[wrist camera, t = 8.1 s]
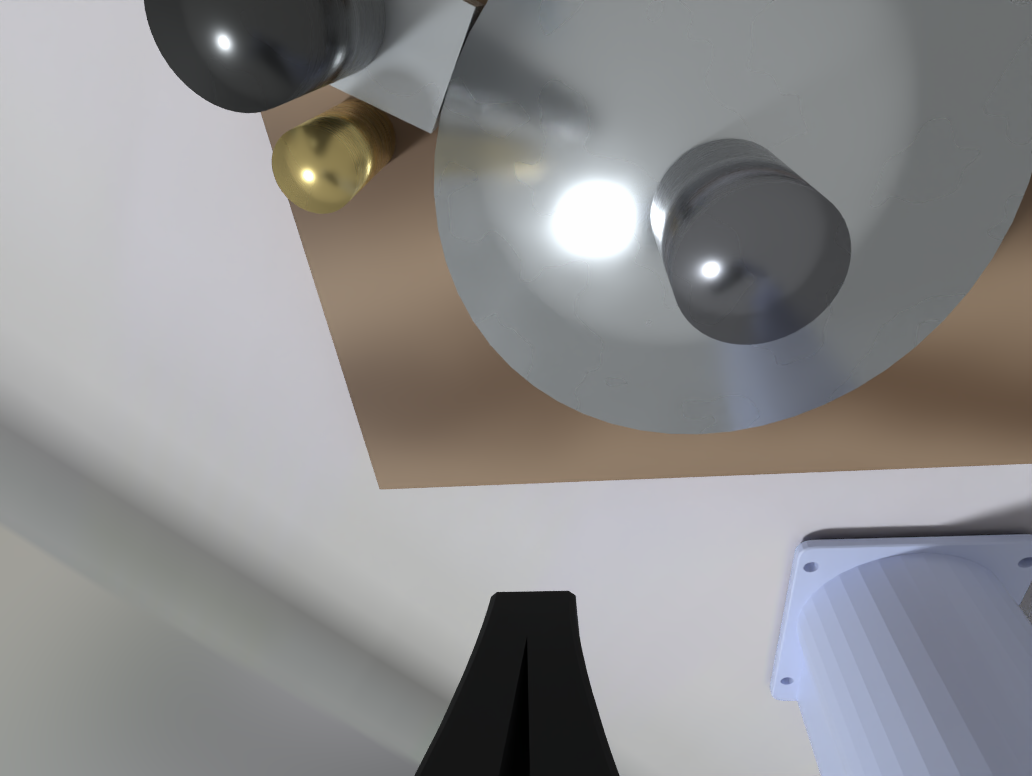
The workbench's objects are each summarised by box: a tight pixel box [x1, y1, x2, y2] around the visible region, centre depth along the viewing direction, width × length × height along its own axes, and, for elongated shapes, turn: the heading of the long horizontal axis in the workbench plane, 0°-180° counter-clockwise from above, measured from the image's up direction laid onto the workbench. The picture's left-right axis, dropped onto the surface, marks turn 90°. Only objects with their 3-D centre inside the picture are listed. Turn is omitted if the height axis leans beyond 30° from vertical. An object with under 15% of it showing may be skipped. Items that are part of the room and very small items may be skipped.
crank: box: [144, 0, 1032, 434], centre depth 12 cm, size 16×12×6 cm
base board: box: [261, 0, 1032, 489], centre depth 14 cm, size 20×20×1 cm
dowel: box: [272, 99, 396, 214], centre depth 13 cm, size 2×2×3 cm
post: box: [651, 138, 851, 345], centre depth 11 cm, size 3×3×3 cm
